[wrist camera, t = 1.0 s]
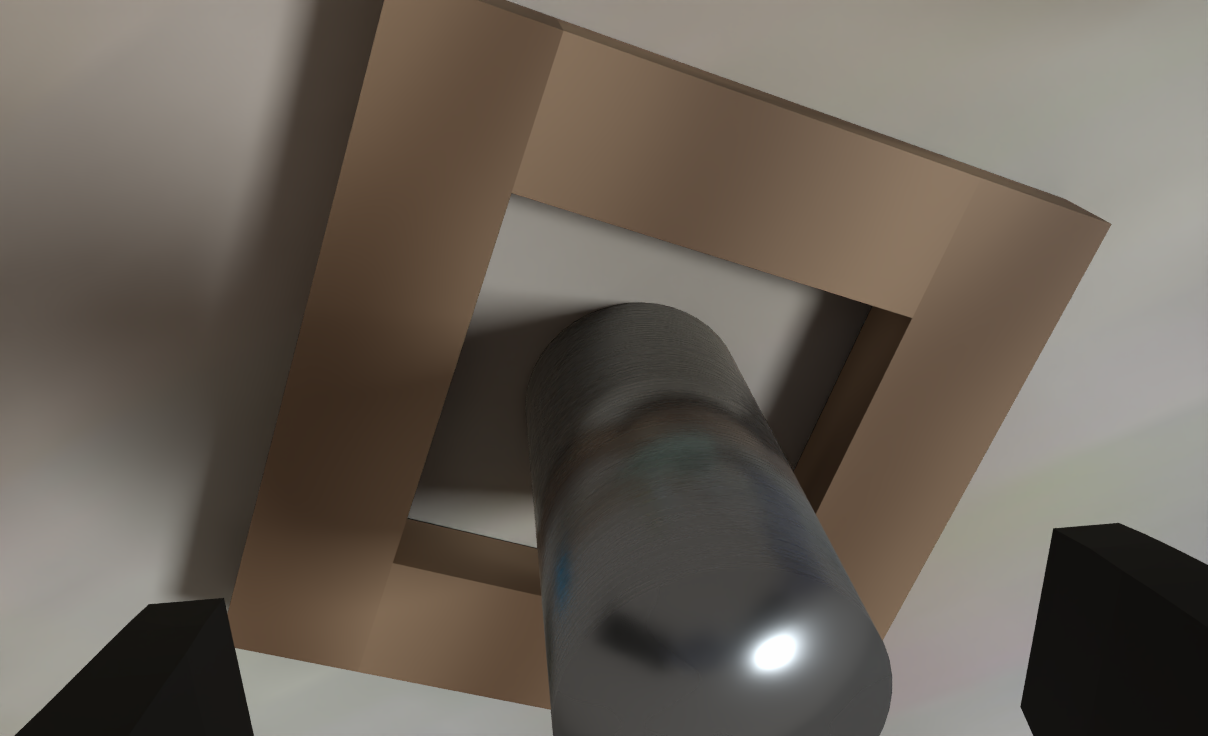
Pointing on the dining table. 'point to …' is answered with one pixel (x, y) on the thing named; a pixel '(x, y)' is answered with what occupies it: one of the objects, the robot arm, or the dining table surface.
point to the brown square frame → (651, 207)
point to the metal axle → (684, 548)
